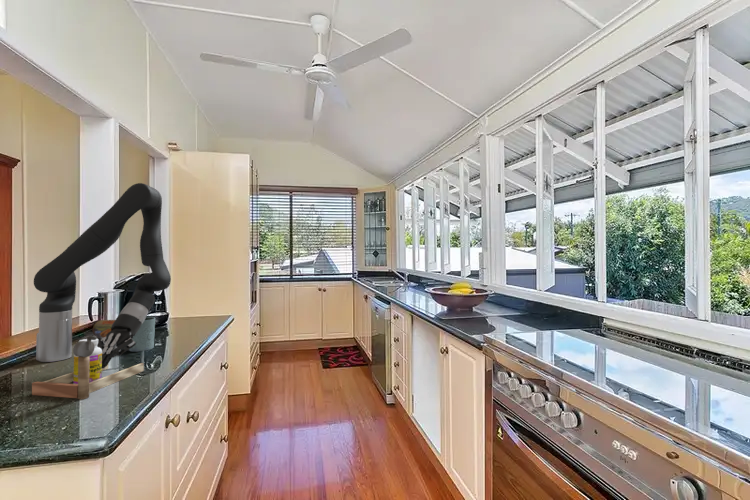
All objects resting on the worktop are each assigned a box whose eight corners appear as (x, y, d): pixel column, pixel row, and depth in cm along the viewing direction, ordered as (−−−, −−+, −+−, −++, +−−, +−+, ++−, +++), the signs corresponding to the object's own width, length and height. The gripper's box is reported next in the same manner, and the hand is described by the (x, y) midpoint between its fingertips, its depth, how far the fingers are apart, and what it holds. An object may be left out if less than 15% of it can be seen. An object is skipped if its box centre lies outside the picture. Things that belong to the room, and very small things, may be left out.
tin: (91, 339, 170) (92, 320, 170) (97, 337, 173) (97, 318, 173) (126, 339, 170) (126, 320, 170) (130, 337, 173) (131, 319, 173)
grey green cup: (156, 349, 152) (156, 319, 152) (125, 353, 147) (126, 321, 147) (153, 344, 161) (154, 315, 161) (125, 347, 155) (125, 318, 155)
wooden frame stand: (105, 368, 128) (106, 318, 128) (156, 371, 125) (156, 320, 125) (26, 396, 103) (27, 334, 103) (87, 401, 100) (88, 337, 100)
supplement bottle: (85, 389, 109) (85, 343, 109) (67, 386, 111) (67, 341, 111) (107, 381, 115) (107, 338, 115) (90, 379, 117) (90, 336, 117)
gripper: (106, 312, 127) (72, 360, 115) (142, 313, 125) (112, 361, 113) (119, 325, 132) (87, 372, 120) (154, 326, 131) (126, 374, 118)
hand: (99, 367), depth 117 cm, fingers closed
